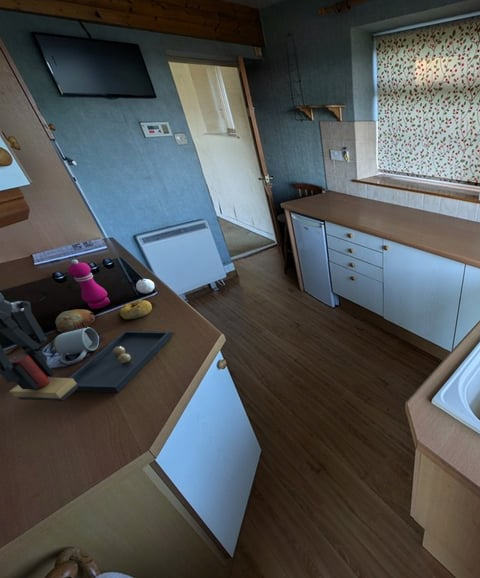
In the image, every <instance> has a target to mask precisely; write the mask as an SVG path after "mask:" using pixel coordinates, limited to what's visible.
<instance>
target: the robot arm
mask: <svg viewBox="0 0 480 578" xmlns="http://www.w3.org/2000/svg"><path fill="white" fill-rule="evenodd" d="M31 307H32V306H31V302H30V301H25V300H14V301H12V302H10V301H8V300H6V299H5V297H4V295H3V293H1V292H0V333H1V334H3V335H4V337H7V338H8V339H9V340H10V341H11V342H13V344H15V345H16V346H17V347H18V348H19V349H21V350H22V351H24V352H23V353H22V354H25V353H26V354H29V355H30V357H31V358H32V359H33V360H34V361H35V363H36V364H37V365H38V366H39V367H40V368H41V370H42V371H43V372H44V373H45V374H46V376H47V377H50V378H53V376H55V372H54V371H53V370H52V369H51V368H50V366H49V364H47V361H48V357H47V356H46V354H45V353H44V350H45V346H43V344H47V342H48V338H47V336H46V334H45V333H44V331H43V329H42V327H41V326H40V324H39V323H38V321H37V318H36V317H35V316H34V314H33V312H32V308H31ZM12 315H13V317H14V318H15V320H16V321H17V323H18V324H17V323H16V322H15V321H14V320H13V319H12ZM19 326H20V327H19ZM0 375H1V376H2V377H3V379H5V381H7V382H9V383H16V384H17V385H19V386H20V387H21V388H22V389H32V390H35V389H36V388H38V385H37V384H36V383H35V382H34V381H33V380H32V379H31V378H30V376H29V375H28V374H27V373H26V372H25V371H24V370H23V369H22V367H21V366H20V365H12V363H11V362H10V358H9V357H8V355H7V353H6V352H5V350H4V349H3V346H2V345H1V344H0Z"/></svg>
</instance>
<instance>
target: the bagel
mask: <svg viewBox="0 0 480 578" xmlns="http://www.w3.org/2000/svg"><path fill="white" fill-rule="evenodd" d="M152 309H153V306H152V304H151V302H149V301H148V300H145V299H143V300H141V299H140V300H136V301H131V302H128V303H125V304H123V306H122V308H120V309H119V315H120V317H121V318H122V319H124V320H132V319H133V320H134V319H140V318H143V317H145V316H147V315H148V314H150V313H151V312H152Z"/></svg>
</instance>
